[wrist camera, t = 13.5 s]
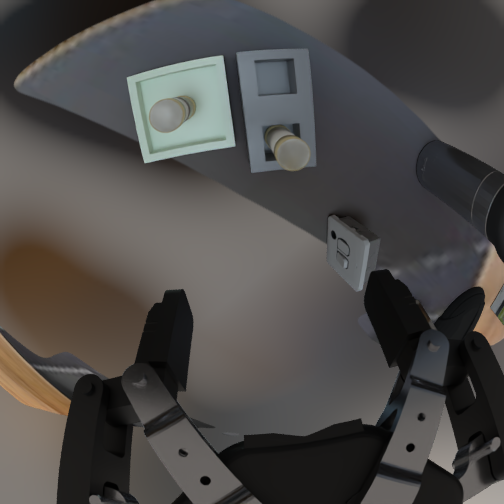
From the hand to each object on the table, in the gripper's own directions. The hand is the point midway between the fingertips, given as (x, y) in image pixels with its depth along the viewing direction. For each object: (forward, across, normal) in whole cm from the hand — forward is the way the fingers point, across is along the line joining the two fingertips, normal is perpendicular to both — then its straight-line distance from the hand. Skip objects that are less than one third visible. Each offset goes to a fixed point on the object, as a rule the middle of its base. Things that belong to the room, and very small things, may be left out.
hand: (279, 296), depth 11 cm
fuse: (+27, -3, -1) cm, 28 cm away
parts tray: (+28, +8, -6) cm, 30 cm away
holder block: (+28, -3, -5) cm, 29 cm away
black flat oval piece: (+30, -61, +58) cm, 90 cm away
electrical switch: (+29, -14, +16) cm, 36 cm away
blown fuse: (+27, +8, -6) cm, 29 cm away
